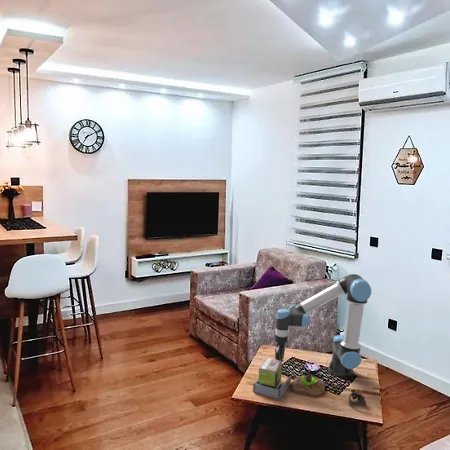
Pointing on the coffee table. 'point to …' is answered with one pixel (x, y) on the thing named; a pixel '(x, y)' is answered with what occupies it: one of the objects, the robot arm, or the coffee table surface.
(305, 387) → the plant
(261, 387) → the box
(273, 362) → the tea box
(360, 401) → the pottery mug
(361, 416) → the coffee table surface
